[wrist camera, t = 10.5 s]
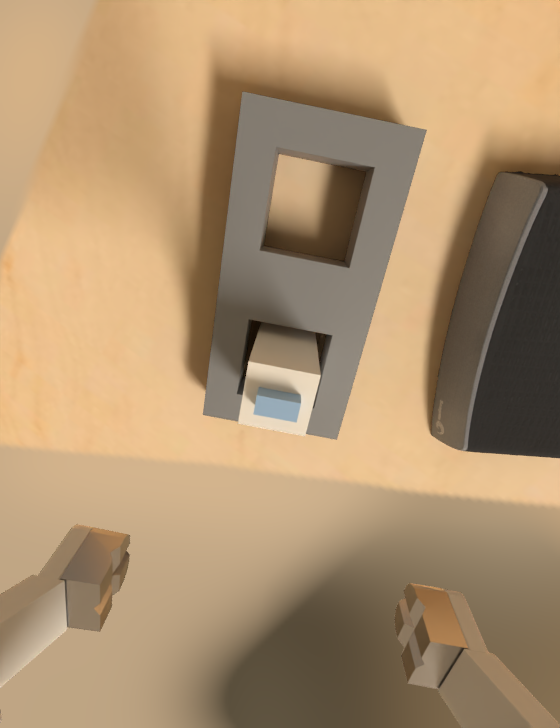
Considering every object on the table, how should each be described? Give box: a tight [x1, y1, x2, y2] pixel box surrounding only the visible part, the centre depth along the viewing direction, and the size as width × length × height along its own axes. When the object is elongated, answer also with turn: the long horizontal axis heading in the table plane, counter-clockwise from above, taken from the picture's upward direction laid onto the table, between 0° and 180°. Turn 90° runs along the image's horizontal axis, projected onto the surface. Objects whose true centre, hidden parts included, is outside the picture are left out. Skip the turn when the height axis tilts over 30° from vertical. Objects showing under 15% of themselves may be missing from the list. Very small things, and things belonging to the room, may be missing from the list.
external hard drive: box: [431, 172, 560, 458], centre depth 26 cm, size 13×19×4 cm
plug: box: [238, 322, 321, 436], centre depth 25 cm, size 4×4×9 cm
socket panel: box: [203, 91, 427, 440], centre depth 25 cm, size 20×10×3 cm, turn 170°
